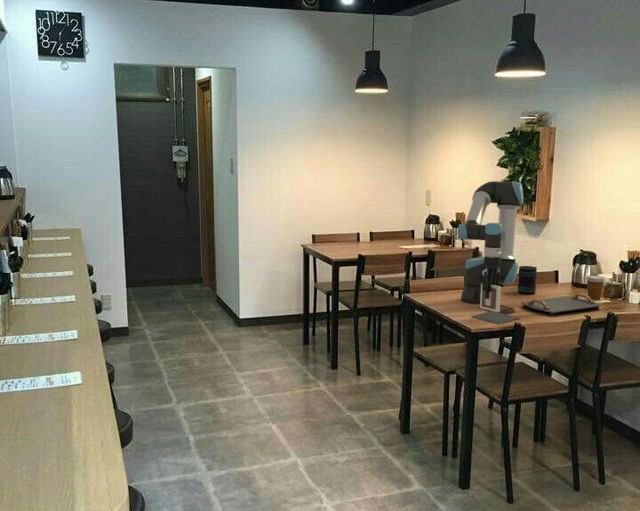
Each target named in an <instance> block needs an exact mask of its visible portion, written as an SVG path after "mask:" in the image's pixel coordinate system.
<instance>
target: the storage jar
mask: <svg viewBox="0 0 640 511" xmlns="http://www.w3.org/2000/svg"><path fill="white" fill-rule="evenodd" d="M537 268H538V267H536V266H531V265H520V266H518V271H517V275H518V276H517V277H518V283H517V294H518V295H522V296H534V295H536V290H537V284H536V282H537V281H536V280H537V276H538V275H537V274H538V273H537V270H538V269H537Z"/></svg>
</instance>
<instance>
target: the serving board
mask: <svg viewBox="0 0 640 511" xmlns="http://www.w3.org/2000/svg"><path fill="white" fill-rule="evenodd" d="M580 297H581V298H580ZM521 304H522V305H523V306H522V307H523V308H524V309H526V308H530V309H532V310H537V311H540V312H541V311H542V312H545V313H549V314H548V315H549V316H550V317H554V316H555V314H558V313H564V312H572V311H579V310H584V309H585V310H586V309H591V308H594V310H596V311H597V310H600V307H602V305H601V304H599V303H597V302H596V301H593V299H591V298H590V297H589V296H588V294H587V295H586V294H584V293H577V294H576V295H574V296H566V295H565V296H558V297H557V296H556V297H553V298H551V297H550V298H542V299H532V300H528V301H527V300H526V301H522V302H521Z"/></svg>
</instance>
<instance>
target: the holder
mask: <svg viewBox="0 0 640 511" xmlns="http://www.w3.org/2000/svg"><path fill="white" fill-rule="evenodd" d="M488 312H491V310H489V311H488ZM494 312H495V311H494ZM498 313H502V314H507V315H510V314H513V313H516V309H515V308H514V307H513V306H507V305H505V304H500V312H498Z"/></svg>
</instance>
